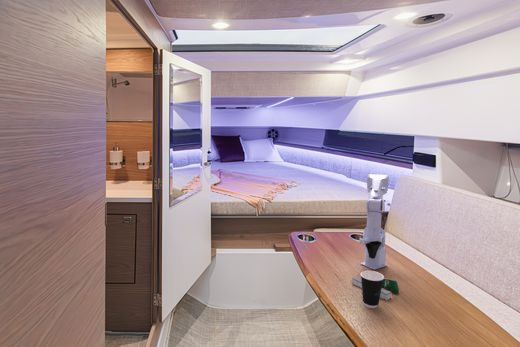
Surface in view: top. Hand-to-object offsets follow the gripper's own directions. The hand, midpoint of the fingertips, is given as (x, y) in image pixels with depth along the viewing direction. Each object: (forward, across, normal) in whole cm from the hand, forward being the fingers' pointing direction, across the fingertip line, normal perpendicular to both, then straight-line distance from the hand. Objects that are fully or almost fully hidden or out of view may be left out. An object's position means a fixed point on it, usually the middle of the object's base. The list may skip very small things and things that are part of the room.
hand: (371, 257), depth 136 cm
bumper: (+8, -11, -8) cm, 16 cm away
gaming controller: (+9, -5, -11) cm, 15 cm away
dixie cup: (+8, -20, -15) cm, 27 cm away
